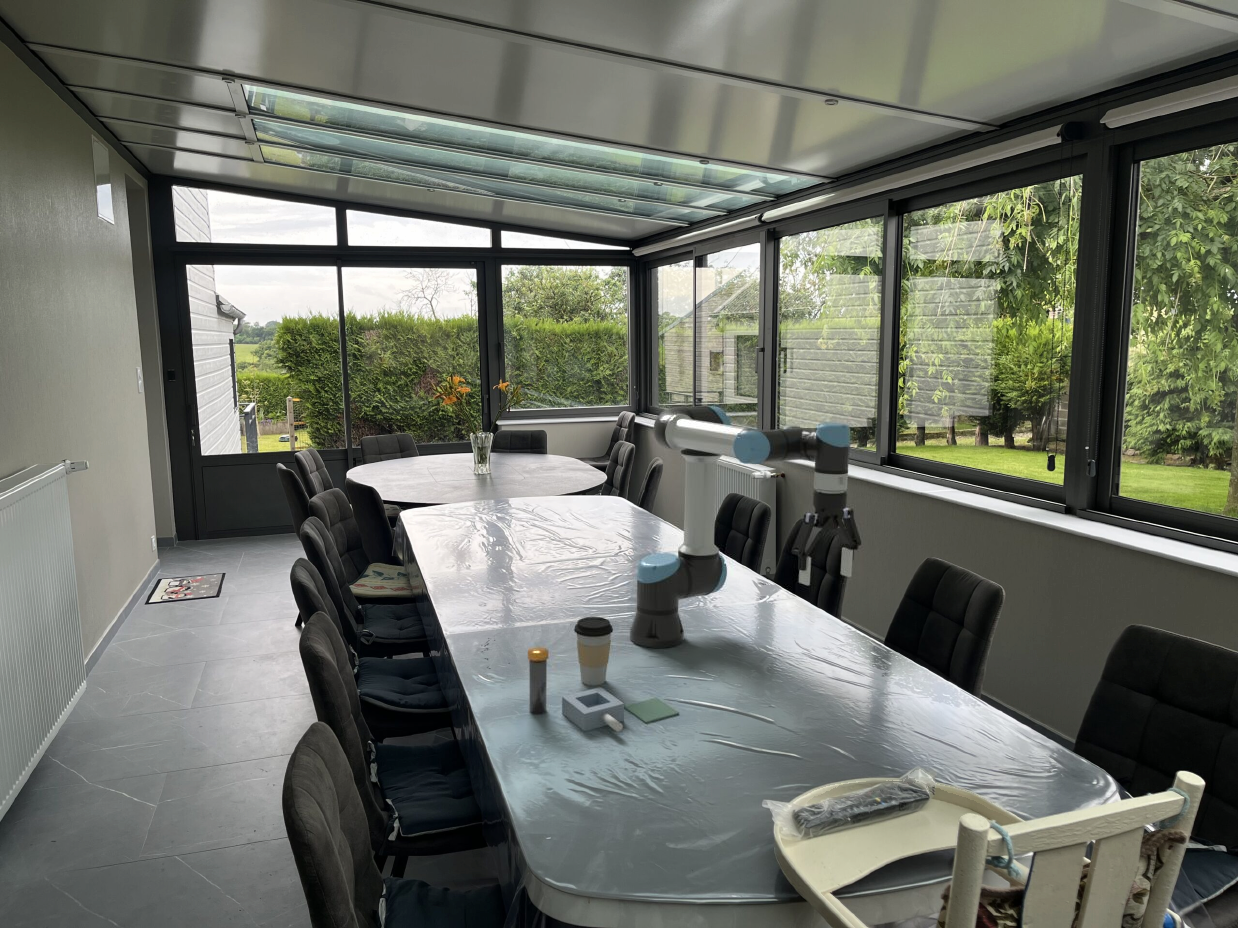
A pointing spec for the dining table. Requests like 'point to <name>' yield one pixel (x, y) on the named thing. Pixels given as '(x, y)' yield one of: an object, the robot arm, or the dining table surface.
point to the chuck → (593, 709)
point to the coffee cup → (593, 648)
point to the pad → (651, 710)
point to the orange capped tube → (537, 679)
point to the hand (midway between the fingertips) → (825, 579)
